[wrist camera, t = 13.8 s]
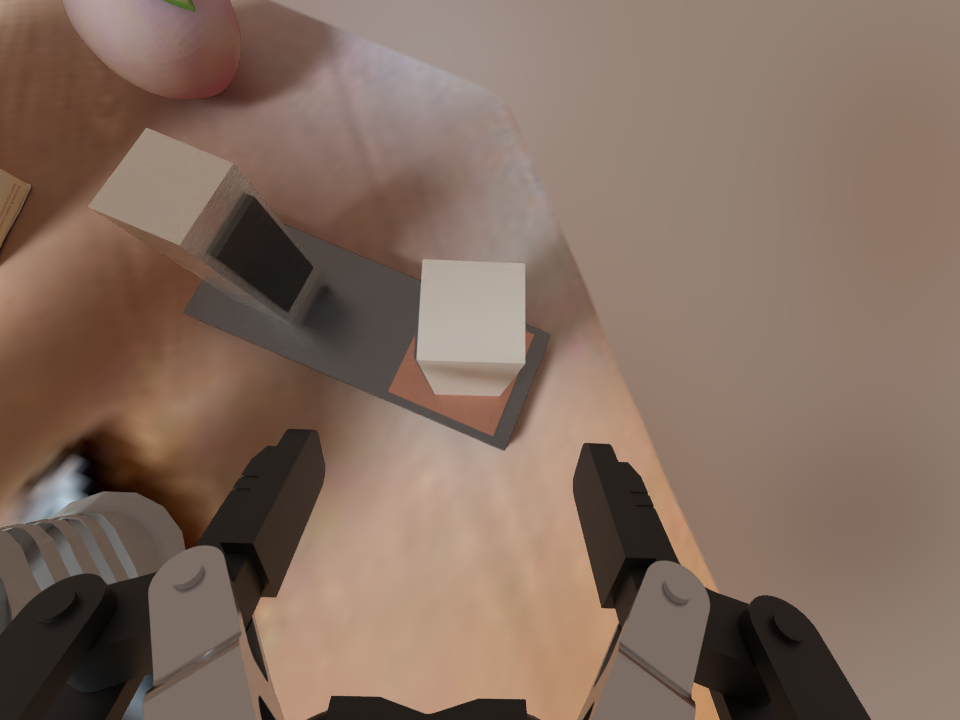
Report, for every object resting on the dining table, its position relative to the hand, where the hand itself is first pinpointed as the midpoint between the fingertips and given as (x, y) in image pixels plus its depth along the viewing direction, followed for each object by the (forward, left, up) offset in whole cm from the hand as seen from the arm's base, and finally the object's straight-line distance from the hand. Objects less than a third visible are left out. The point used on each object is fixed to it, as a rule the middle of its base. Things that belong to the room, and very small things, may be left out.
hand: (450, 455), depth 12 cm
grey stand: (-8, +5, -13) cm, 17 cm away
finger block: (-1, +5, -12) cm, 13 cm away
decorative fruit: (-28, +17, -14) cm, 36 cm away
